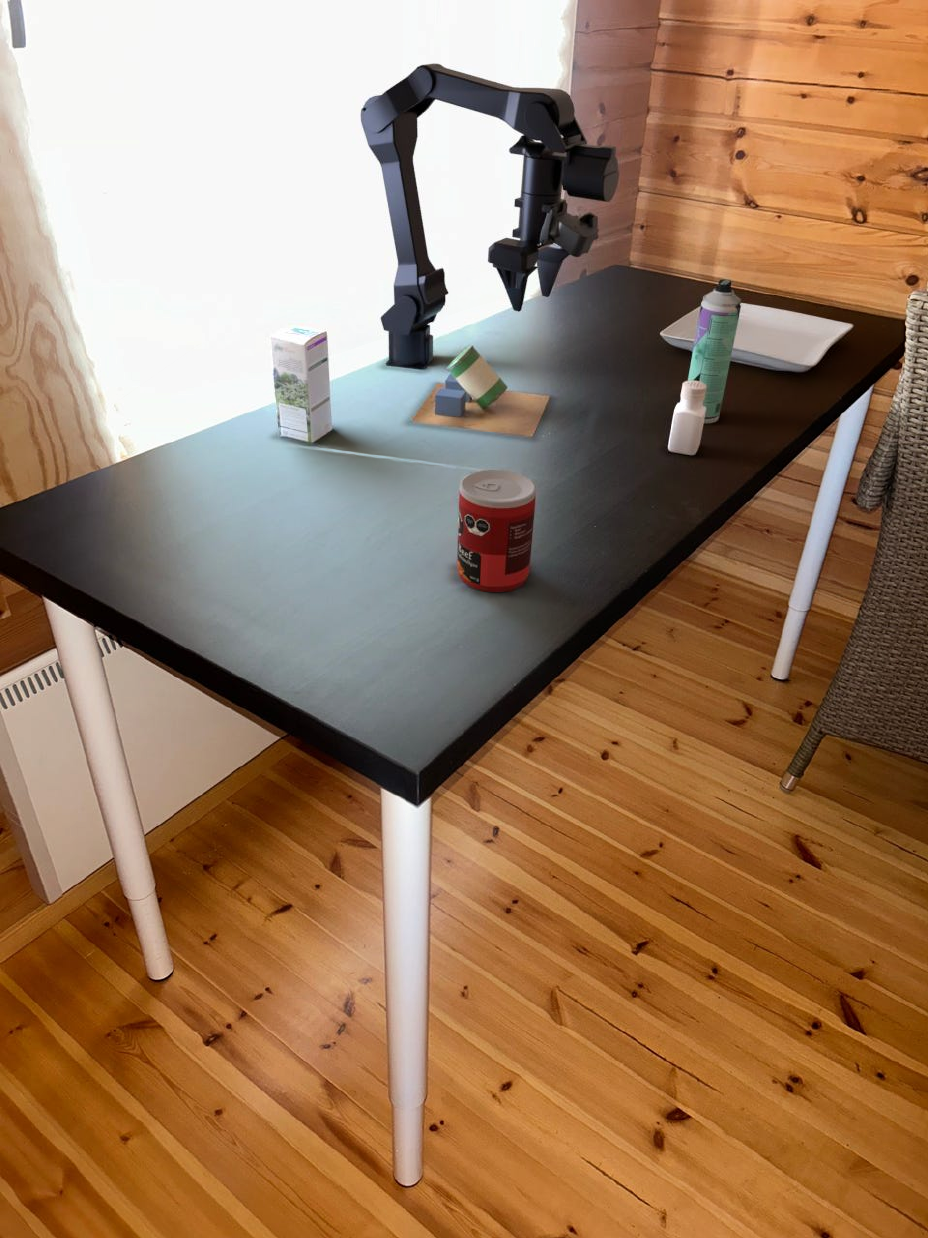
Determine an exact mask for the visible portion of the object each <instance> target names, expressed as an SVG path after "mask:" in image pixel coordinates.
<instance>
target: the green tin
mask: <svg viewBox="0 0 928 1238" xmlns="http://www.w3.org/2000/svg"><path fill="white" fill-rule="evenodd" d="M446 370H447V371H448V372H449V374H451V375H452V376H453V377H454V378H455V379H456V380H457V381H458V383H459V384H460V385H461V386H462V387H463V388H464V390H465V391H466V392H467V393H468V394H469V395H470V396H471V398H472V399H473V400H474V401H475V402H476V403H477V404H478V405H479V407H480V408H481V409H482V410H484V409H486V408H487V407H489V406H490V405H491V404H493V403H494V402H495V401H496V400H497V399H498V398H499V397H500V396H501V395H502V394H503V393H504V392H505V391H507V389H508V385H507V384H506V383H505V382H504V381H503V380H502V378H501V377H500V375H498V373H497V372H496V371H495V370H494V368H492V367H491V366H490V364H489V363H488V362H487V361H486V359H485V358H483V356H482V355H481V353H480V352H478V350H477V349H476V348H475V347H474V345H472V344H471V345H469V346H468V347H467V348H465V349H464V350H463V351H462V352H460V354H458V355H457V356H456V357H455V358H454V359H453V360H452V361H451V362H450V363H449V364H448V366H446Z"/></svg>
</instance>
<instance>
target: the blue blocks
mask: <svg viewBox="0 0 928 1238" xmlns="http://www.w3.org/2000/svg"><path fill="white" fill-rule="evenodd" d="M444 384H445V388H440V389H439V390H438V392H437V393H436V394H435V414H437V415H445V416H453V417H461V416H462V415H463V413H464V411H465V407H466V402H471V400H472V398H471V396H470V395H469V394H468V393H467V392H466V391H465V390H464V388H463V387H462V386H461V385H460V384H459V383H458V381H457V380H456V379H455V378H454V377H453V376H452V375H451V373H449V374H448V376H447V377H446V379H445V380H444Z"/></svg>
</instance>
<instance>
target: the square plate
mask: <svg viewBox="0 0 928 1238" xmlns="http://www.w3.org/2000/svg"><path fill="white" fill-rule="evenodd" d="M740 305H741V309H740V314H739V319H738V324H737V329H736V334H735V339H734V344H733V349H732V354H731V359H730V362H735V363H738V364H744V365H748V366H752V367H758V368H763V369H766V370H771V371H780V372H793V373H805V372H808V371H809V370H810V369H812V368H813V367H815V366H816V365H817V364H818V363H819V362H820V361H821V360H822V359H823V357H824V356H825V355H826V353H827V352H828V350H829V349H830V348H831V347H832V346H833V345H834V344H836V343H837V342H838V341H839V340H841V339H842V338H843V337H844V336H846V334H847V333H849V331H851V330H852V329H853V328H854V324H853V323H849V322H843V321H838V320H834V319H828V318H824V317H820V316H815V315H811V314H806V313H801V312H796V311H792V310H787V309H781V308H776V307H769V306H764V305H758V304H752V303H744V302H741V303H740ZM700 308H701V305H700V306H698V307H697V308H695V309H693V310H692V311H690V312H689V313H687V314H685V315H683V316H682V317H681V318H679V319H678V320H676V321H674V322H673V323H672V324H670V325H669V326H667V327H666V328H665V329H663V330H662V331H660V333H659V335H660V336H661V337H662V339H663V340H664V341H665V342H666V343H668V344H669V345H671V346H674V347H676V348H679V349H682V350H688V351H690V352H691V353H693V348H694V342H695V337H696V331H697V325H698V320H699V314H700Z"/></svg>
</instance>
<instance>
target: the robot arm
mask: <svg viewBox="0 0 928 1238" xmlns="http://www.w3.org/2000/svg"><path fill="white" fill-rule="evenodd" d="M435 101H440V102H442V103H446V104H450V105H453V106H455V107H456V106H457V107H460V108H463V109H467V110H469V111H474V112H476V113H480V114H484V115H487V116H490V117H494V118H496V119H499V120H501V121H503V122H504V123H506V124H507V126H509V127H511V128H512V129H513V130H514V131H516V132H518V133H520V134H521V136H520V137H519V139H518V140H517V142H515V143H514V144H513V145H512V146H511V147H509V149H508V152H509V154H512V155H519V156H522V157H523V159H522V172H521V173H522V174H521V185H520V197H516V198H514V204H513V207H514V208H519V211H518V214H519V215H518V227H515V228H513V229H512V233H511V237H512V238H510V237H504V238H502V239H500V240H499V239H498V240H496V241H495V242H493V243H492V244H491V245H490V246H489V247H488V253H487V262H488V263H489V264H492V268H494V269H495V270H496V271H497V273H498V275H499V277H500V280H501V282H502V284H503V287H504V289H505V291H506V294H507V296H508V300H509V302H510V305H511V307H512V310H513V311H514V312H519V313H520V312H521V311H522V309H523V304H524V300H525V295H526V289H527V285H528V279H529V277H530V275H532V273H533V272H535V271H536V270H537V274H538V282H539V288H540V293H541V296H542V297H546V298H548V297H550V296H551V293H552V290H553V289H554V288H553V287H554V285H555V282H556V280H557V277H558V275H559V272H560V270H561V267H562V265H563V262H564V260H565V259H567V258H568V257H569V256H572V257H574V258H579V257H581V256H582V255H584V254H588V253H589V251H590V250H591V247H592V245H593V243H594V241H596V240H598V239H599V231H600V229H599V217H598V216H597V215H596V214H594V213H592V212H590V211H589V212H587V213H584V214H583V215H582V216H580V217H579V216H578V215H577V214H576V215H572V214H571V213H569V212H568V202H567V199H563V198H562V192H563V191H565V192H566V193H567V195H568V196H569V197H572V198H578V199H585V200H592V201H597V202H598V201H599V202H605V203H610V202H611V200H613V198H614V195H615V193H616V191H617V188H618V184H619V179H620V170H619V162H618V158H617V156H616V153H617V147H616V146H614V145H594V144H588V140H587V138H586V137H585V135H584V132H583V130H582V127H581V126H580V124H579V122H578V120H577V117H576V116H575V111H576V110H575V105H574V102H573V100H572V98H571V95H570V94H569V93H568V91H565V90H563V89H561V88H548V87H547V88H546V87H519V86H517V87H516V86H510V85H507V84H503V83H500V82H497V81H493V80H489V79H486V78H482V77H479V76H475V75H472V74H468V73H465V72H461V71H459V70H455V69H451V68H449V67H448V68H447V67H445V66H443V65H442V64H440V63H427V64H421V65H419V66H417V67H416V68H414V70H413V71H411V72H410V73H409V74H408V75H407V76H406V77H404V78H403V79H401V80H400V81H398V82H397V83H396V84H394V85H393V86H391V87H390V88H388V89H386V90H385V91H384V92H383V93H381V94H379V95H373V96H371V97H369V98H368V99H367V100H366V101H365V102H364V104H363V107H362V108H361V109H360V122H361V127H362V129H363V132H364V136H365V139H366V142H367V145H368V147H369V149H370V150H371V152H372V154H373V155H374V157H375V158H376V160H377V161H378V163H379V164H380V168H381V174H382V179H383V186H384V190H385V196H386V202H387V208H388V213H389V218H390V224H391V231H392V237H393V242H394V247H395V251H396V252H395V253H396V259H397V269H396V273H395V277H394V283H393V304H392V305H391V307H389V309H387V310H386V311H385V312H384V313H383V314H382V315H381V316H380V322H381V325H382V328H383V331H385V332H388V360H387V361H386V362H385V366H386V367H393V368H401V369H411V370H418V371H419V370H420V371H423V370H425V369H426V367H427V366H428V365H429V364H430V363H431V362H432V361H433V360H434V335H433V334H431V325H430V324H432V323H434V322H435V321H436V317H437V315H438V313H439V312H441V310H442V309H443V308H444V307H445V305H446V301H447V300H446V296H447V295H449V291H448V289H447V286H446V274H445V273H446V272H445V269H444V268H443V267H440V268H437V269H436V267H435V266H434V265H433V263H432V262H431V260H430V257H429V252H428V246H427V241H426V234H425V233H426V232H425V227H424V222H423V221H424V220H423V215H422V209H421V203H420V197H419V189H418V185H417V177H416V172H415V171H416V170H415V166H414V154H415V152H416V151H415V150H416V146H417V141H418V137H419V136H418V135H419V134H418V131H419V130H418V119H419V118H420V117H421V116H422V115H423V114H425V112H427V111H428V110H429V109H430V107H431V106H432V104H433V103H434V102H435Z"/></svg>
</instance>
